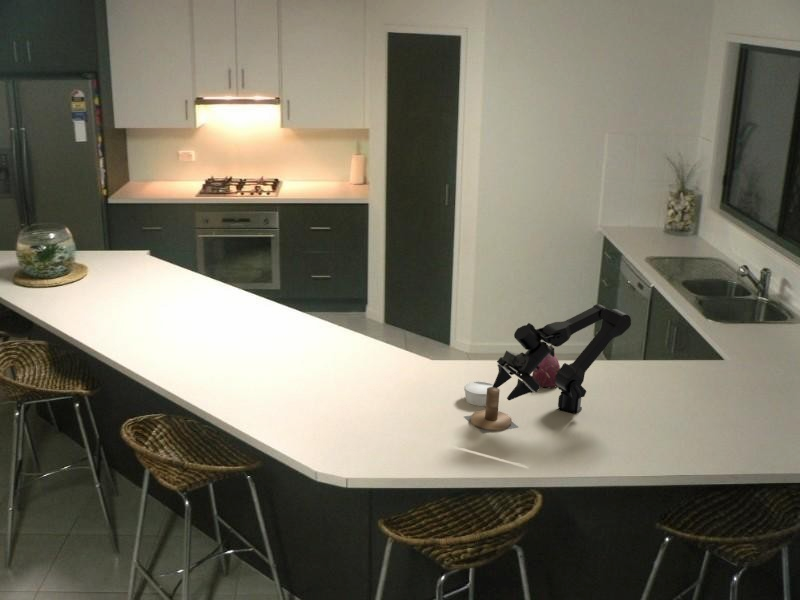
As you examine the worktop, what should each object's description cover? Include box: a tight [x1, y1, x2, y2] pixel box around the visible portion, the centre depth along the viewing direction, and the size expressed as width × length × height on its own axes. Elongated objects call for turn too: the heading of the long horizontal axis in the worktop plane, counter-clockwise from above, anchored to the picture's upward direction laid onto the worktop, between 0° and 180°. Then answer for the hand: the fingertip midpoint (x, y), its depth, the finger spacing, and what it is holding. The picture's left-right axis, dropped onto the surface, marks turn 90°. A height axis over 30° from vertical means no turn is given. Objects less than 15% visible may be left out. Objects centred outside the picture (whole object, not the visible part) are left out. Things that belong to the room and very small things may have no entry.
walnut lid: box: [470, 387, 513, 432], centre depth 320 cm, size 13×13×11 cm
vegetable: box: [531, 344, 561, 388], centre depth 355 cm, size 10×10×15 cm
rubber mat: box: [463, 414, 519, 434], centre depth 322 cm, size 13×13×1 cm
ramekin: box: [463, 380, 494, 407], centre depth 337 cm, size 11×11×5 cm
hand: (500, 393), depth 320 cm, fingers open, 9 cm apart
